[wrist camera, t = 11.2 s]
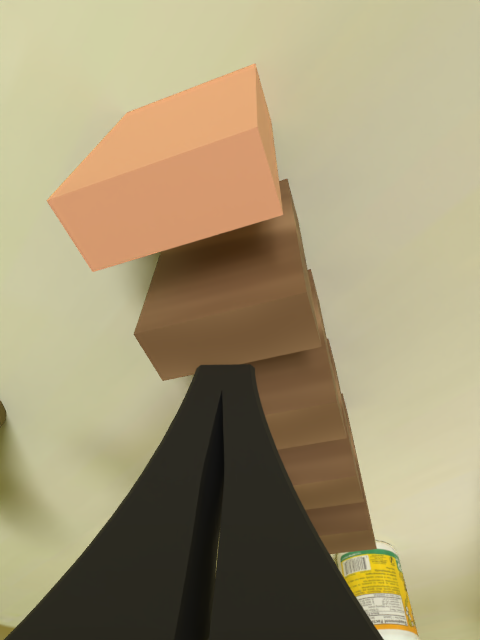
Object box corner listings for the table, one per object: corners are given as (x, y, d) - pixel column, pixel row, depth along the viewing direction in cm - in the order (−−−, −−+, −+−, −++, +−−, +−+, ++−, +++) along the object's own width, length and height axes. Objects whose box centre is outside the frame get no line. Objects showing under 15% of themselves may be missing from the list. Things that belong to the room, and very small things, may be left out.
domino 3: (319, 302, 21) (346, 438, 15) (223, 325, 22) (212, 460, 16) (310, 269, 20) (336, 401, 14) (210, 294, 21) (192, 428, 15)
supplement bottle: (346, 535, 37) (369, 679, 29) (406, 541, 37) (445, 684, 29) (328, 562, 40) (346, 697, 32) (384, 567, 40) (414, 701, 33)
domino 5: (347, 414, 27) (376, 549, 20) (269, 428, 28) (274, 560, 21) (342, 393, 25) (371, 529, 19) (261, 408, 26) (263, 542, 20)
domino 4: (334, 364, 24) (364, 501, 18) (249, 382, 25) (248, 517, 19) (328, 338, 23) (357, 476, 16) (238, 358, 24) (233, 494, 17)
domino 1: (271, 122, 16) (283, 214, 10) (150, 164, 17) (92, 272, 11) (255, 63, 15) (257, 126, 9) (127, 112, 16) (46, 200, 10)
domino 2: (298, 222, 19) (321, 346, 12) (191, 252, 20) (163, 380, 13) (287, 178, 17) (306, 292, 11) (174, 213, 18) (133, 334, 12)
